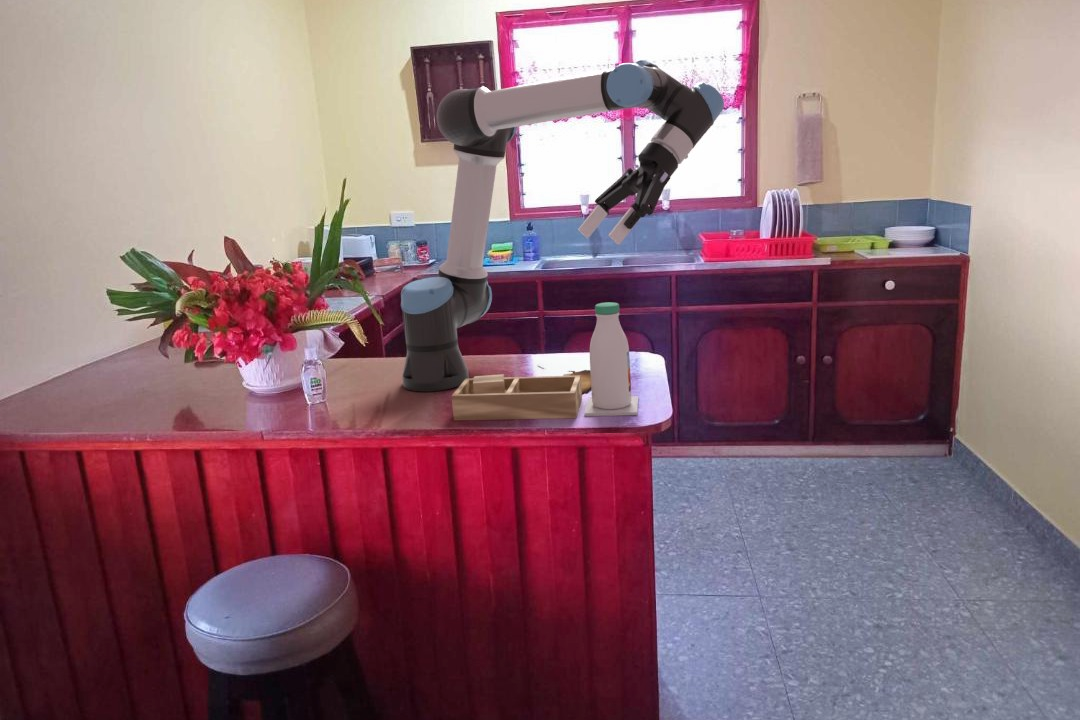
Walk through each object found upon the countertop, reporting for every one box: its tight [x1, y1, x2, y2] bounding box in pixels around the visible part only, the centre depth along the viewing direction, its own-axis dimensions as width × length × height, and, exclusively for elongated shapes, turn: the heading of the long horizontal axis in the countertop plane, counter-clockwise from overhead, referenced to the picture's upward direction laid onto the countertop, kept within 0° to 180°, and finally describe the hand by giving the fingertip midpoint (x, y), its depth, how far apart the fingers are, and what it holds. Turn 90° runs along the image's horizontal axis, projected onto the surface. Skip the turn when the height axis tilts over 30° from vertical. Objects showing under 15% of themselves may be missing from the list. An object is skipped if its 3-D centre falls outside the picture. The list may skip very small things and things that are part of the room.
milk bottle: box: [589, 301, 632, 409], centre depth 152 cm, size 8×8×20 cm
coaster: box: [584, 395, 639, 417], centre depth 154 cm, size 10×10×1 cm
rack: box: [451, 375, 583, 421], centre depth 157 cm, size 12×24×5 cm, turn 82°
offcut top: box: [473, 373, 505, 394], centre depth 157 cm, size 5×6×4 cm
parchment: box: [562, 369, 591, 396], centre depth 170 cm, size 25×10×1 cm, turn 160°
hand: (597, 237), depth 153 cm, fingers open, 13 cm apart
